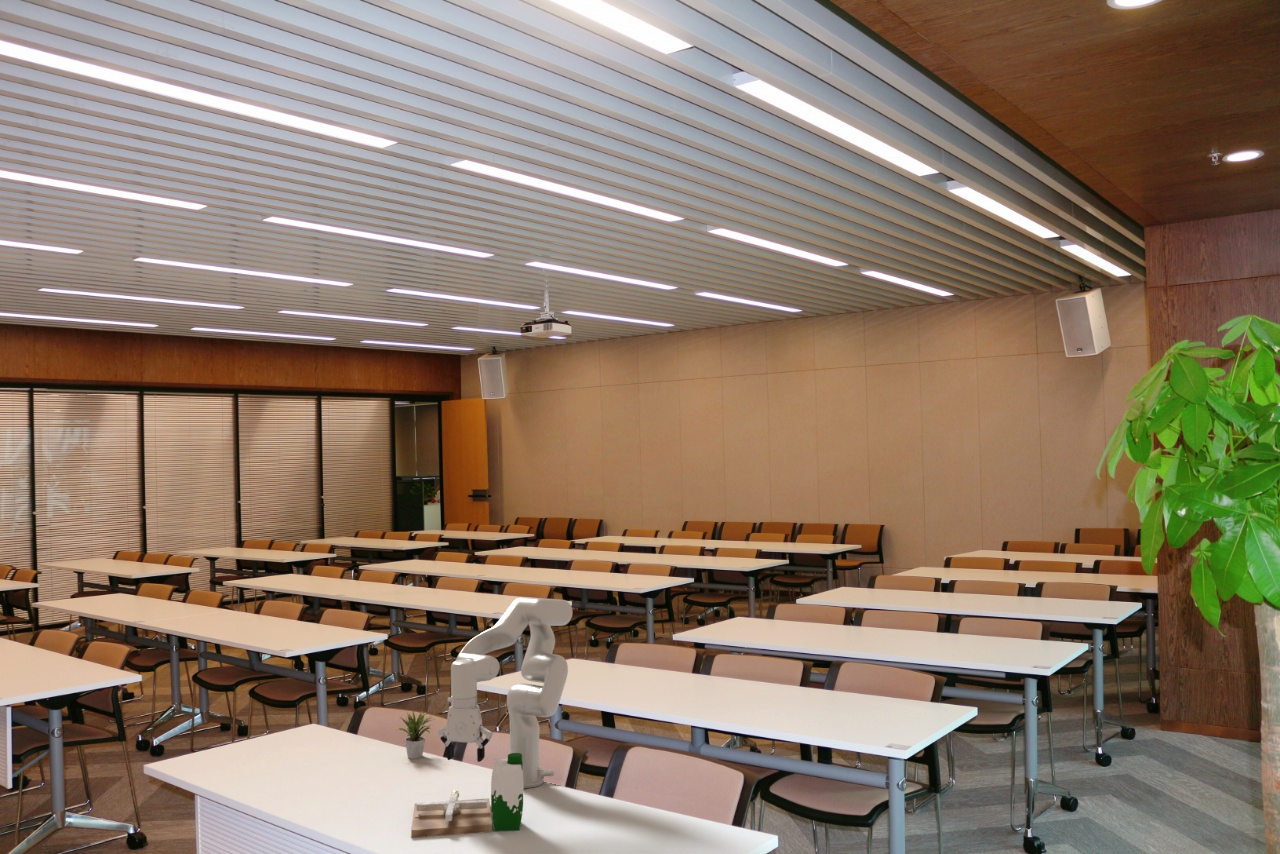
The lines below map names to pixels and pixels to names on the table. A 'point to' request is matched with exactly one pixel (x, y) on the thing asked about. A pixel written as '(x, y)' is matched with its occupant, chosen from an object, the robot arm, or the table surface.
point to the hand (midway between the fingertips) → (465, 759)
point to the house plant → (415, 735)
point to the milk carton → (507, 793)
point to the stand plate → (451, 822)
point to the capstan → (452, 806)
